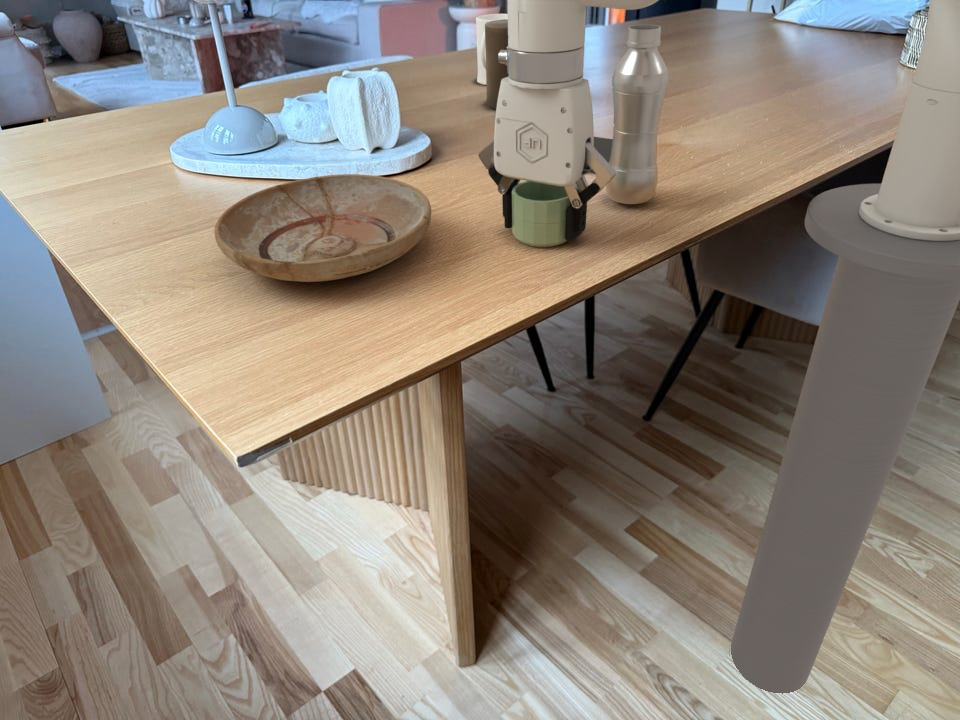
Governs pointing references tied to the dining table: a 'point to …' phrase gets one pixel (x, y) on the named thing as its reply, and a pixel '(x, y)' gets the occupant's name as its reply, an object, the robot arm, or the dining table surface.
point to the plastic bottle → (637, 116)
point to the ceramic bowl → (324, 227)
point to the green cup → (539, 213)
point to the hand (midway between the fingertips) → (543, 229)
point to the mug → (481, 43)
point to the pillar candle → (495, 58)
